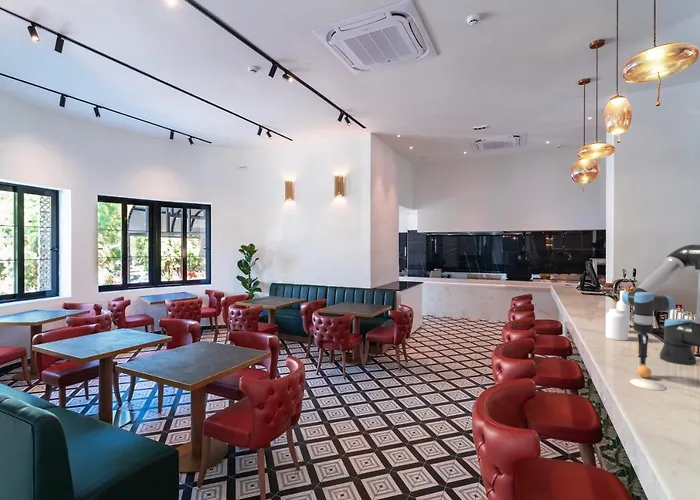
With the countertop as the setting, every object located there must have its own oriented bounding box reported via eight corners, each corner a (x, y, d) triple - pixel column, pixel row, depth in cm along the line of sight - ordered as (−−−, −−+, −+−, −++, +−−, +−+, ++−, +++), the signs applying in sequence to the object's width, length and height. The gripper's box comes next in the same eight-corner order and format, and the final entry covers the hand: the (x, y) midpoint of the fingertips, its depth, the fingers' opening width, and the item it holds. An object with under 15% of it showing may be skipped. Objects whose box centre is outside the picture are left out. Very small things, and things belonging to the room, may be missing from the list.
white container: (601, 337, 251) (601, 308, 250) (612, 335, 256) (612, 306, 256) (621, 341, 239) (621, 311, 239) (632, 339, 245) (632, 309, 244)
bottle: (623, 333, 260) (624, 291, 260) (613, 330, 268) (613, 290, 267) (632, 332, 262) (632, 291, 262) (621, 329, 270) (622, 289, 269)
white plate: (663, 382, 171) (663, 382, 171) (668, 392, 160) (668, 392, 160) (628, 377, 178) (628, 377, 178) (631, 386, 167) (631, 386, 167)
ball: (651, 364, 177) (652, 373, 173) (650, 372, 180) (651, 381, 176) (636, 362, 180) (637, 370, 176) (636, 370, 183) (637, 378, 179)
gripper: (632, 320, 189) (631, 364, 189) (635, 324, 178) (634, 372, 178) (651, 321, 184) (650, 367, 185) (654, 326, 174) (653, 375, 174)
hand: (642, 369), depth 182 cm, fingers closed
